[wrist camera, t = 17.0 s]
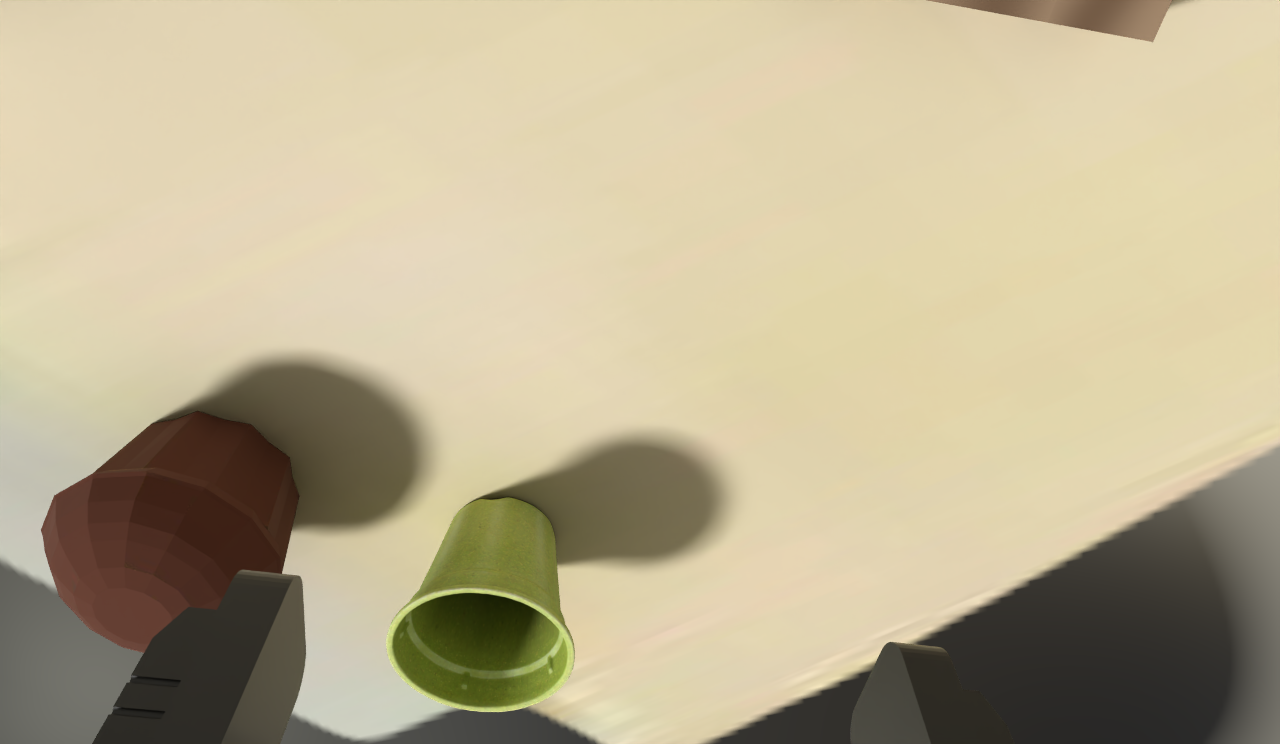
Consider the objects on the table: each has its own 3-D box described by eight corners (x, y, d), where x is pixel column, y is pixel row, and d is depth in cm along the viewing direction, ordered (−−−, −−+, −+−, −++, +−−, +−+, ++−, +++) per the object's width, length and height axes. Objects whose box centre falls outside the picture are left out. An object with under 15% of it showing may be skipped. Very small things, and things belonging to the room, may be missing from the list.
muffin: (65, 418, 47) (-58, 553, 38) (251, 366, 45) (164, 495, 37) (190, 571, 53) (107, 716, 44) (357, 530, 51) (304, 673, 43)
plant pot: (524, 612, 55) (508, 735, 48) (391, 545, 52) (352, 666, 45) (614, 523, 51) (612, 643, 44) (476, 445, 48) (448, 560, 41)
